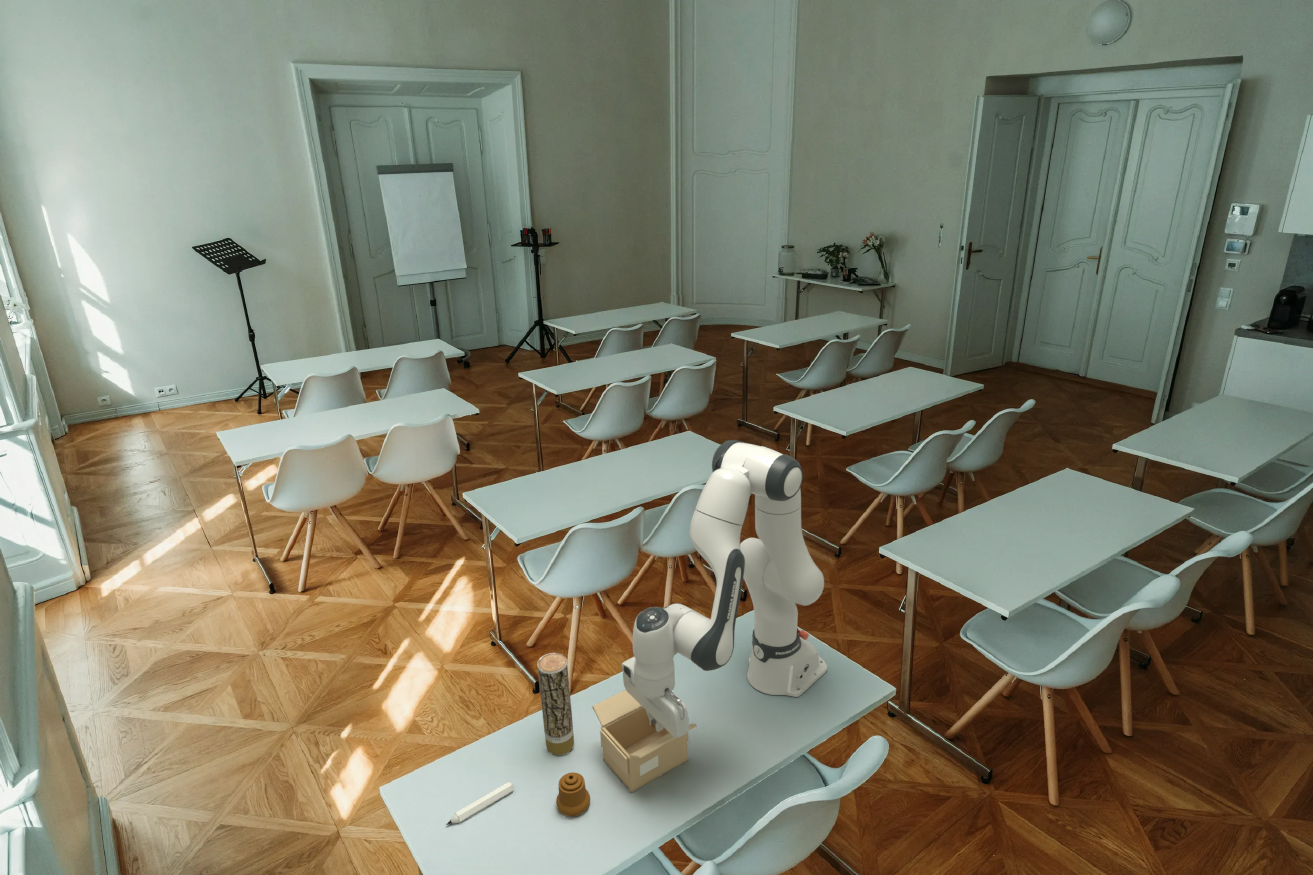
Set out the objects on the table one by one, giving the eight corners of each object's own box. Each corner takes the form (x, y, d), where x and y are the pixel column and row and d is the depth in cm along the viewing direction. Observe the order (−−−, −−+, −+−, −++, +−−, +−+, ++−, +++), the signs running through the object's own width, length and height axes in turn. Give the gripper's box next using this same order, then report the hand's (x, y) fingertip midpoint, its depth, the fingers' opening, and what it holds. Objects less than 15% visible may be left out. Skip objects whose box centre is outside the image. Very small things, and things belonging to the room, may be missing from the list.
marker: (446, 830, 167) (511, 791, 176) (449, 832, 165) (514, 792, 174) (441, 819, 167) (507, 780, 176) (444, 820, 165) (510, 781, 174)
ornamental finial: (569, 824, 166) (549, 803, 171) (597, 805, 171) (577, 785, 176) (567, 797, 163) (547, 776, 168) (595, 777, 168) (574, 758, 173)
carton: (660, 729, 191) (659, 696, 187) (690, 758, 182) (689, 725, 178) (601, 761, 182) (598, 728, 178) (629, 794, 173) (627, 760, 169)
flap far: (656, 698, 187) (646, 679, 189) (657, 697, 186) (647, 678, 188) (601, 726, 179) (592, 706, 181) (602, 725, 178) (592, 705, 180)
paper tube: (569, 758, 183) (561, 673, 174) (542, 754, 184) (533, 670, 175) (578, 737, 189) (570, 654, 180) (551, 734, 191) (543, 651, 181)
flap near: (629, 757, 170) (639, 758, 166) (629, 754, 170) (639, 756, 166) (686, 726, 178) (697, 726, 174) (685, 723, 178) (696, 724, 174)
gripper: (695, 697, 162) (696, 748, 167) (640, 648, 177) (642, 696, 183) (671, 711, 158) (673, 762, 164) (617, 660, 174) (620, 708, 179)
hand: (656, 727), depth 173 cm, fingers closed
